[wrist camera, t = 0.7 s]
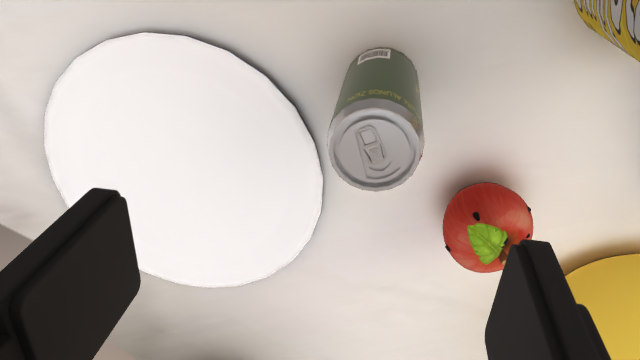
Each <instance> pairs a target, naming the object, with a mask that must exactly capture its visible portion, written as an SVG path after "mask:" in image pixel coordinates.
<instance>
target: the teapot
mask: <svg viewBox="0 0 640 360" xmlns="http://www.w3.org/2000/svg"><path fill="white" fill-rule="evenodd" d="M565 278H566V280H567V283H568V285H569V287H570V289H571V292H572V294H573V296H574V299H575V301H576V303H577V304H582V305H584V306H585V307H586V308H587V309H588V311H589V312H590V315H591V317H592V319H593V321H594V323H595V325H596V327H597V330H598V332H599V334H600V336H601V338H602V340H603V342H604V345H605V347H606V349H607V351H608V353H609V355H610V358H611V360H640V254H629V255H621V256H614V257H609V258H604V259H601V260H598V261H594V262H591V263H589V264H587V265H584V266H582V267H580V268H578V269H576V270H574V271H572V272H571V273H569V274H568V275H566V276H565Z"/></svg>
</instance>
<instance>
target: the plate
mask: <svg viewBox="0 0 640 360" xmlns="http://www.w3.org/2000/svg"><path fill="white" fill-rule="evenodd" d="M44 148H45V152H46V156H47V160H48V163H49V167H50V171H51V175H52V178H53V180H54V182H55V184H56V186H57V188H58V190H59V192H60V193H61V195H62V197H63V199H64V201H65V203H66V205H67V206H68V208H70V207H71V206H73V205H74V204H75V203H76V202H77V201H78V200H79V199H80V198H81V197H82V196H83V195H85V194H86V193H87V192H88V191H89V190H90V189H92V188H103V189H112V190H117V191H118V192H119V193H120V195H121V196H122V197H124V198H125V199H126V201H127V206H128V212H129V217H130V223H131V228H132V234H133V240H134V245H135V251H136V256H137V262H138V268H139V269H140V270H142V271H143V272H145V273H147V274H150V275H153V276H156V277H159V278H162V279H165V280H168V281H171V282H174V283H177V284H183V285H190V286H198V287H205V288H218V287H233V286H241V285H244V284H248V283H251V282H254V281H257V280H260V279H263V278H267V277H269V276H270V275H272V274H273V273H275V272H276V271H278V270H279V269H281V268H283V267H284V266H286V265H287V264H289V263H290V262H292V261H293V259H294V258H295V257H296V256H297V255H298V253H299V252H300V251H301V250H302V249H303V247H304V246H305V245H306V244H307V243H308V241H309V240H310V239H311V236H312V234H313V231H314V228H315V226H316V223H317V221H318V218H319V216H320V213H321V208H322V190H323V174H322V170H321V166H320V162H319V158H318V154H317V150H316V145H315V142H314V140H313V138H312V136H311V134H310V133H309V131H308V129H307V127H306V125H305V124H304V122H303V120H302V118H301V116H300V114H299V113H298V111H297V109H296V107H295V106H294V105H293V104H292V103H291V102H290V101H289V100H288V98H287V97H286V96H285V95H284V94H283V93H282V92H281V91H280V90H279V89H278V88H277V87H276V86H275V85H274V83H273V82H272V81H271V80H270V79H269V78H268V77H267V76H266V75H265V74H263V73H262V72H260V71H259V70H257V69H256V68H254V67H253V66H251V65H250V64H248V63H247V62H245V61H244V60H242V59H241V58H239V57H238V56H236V55H235V54H233V53H232V52H230V51H228V50H226V49H223V48H220V47H217V46H215V45H212V44H209V43H206V42H203V41H201V40H198V39H195V38H192V37H189V36H186V35H174V34H163V33H151V32H142V33H138V34H133V35H128V36H123V37H118V38H114V39H109V40H105V41H104V42H102V43H100V44H99V45H97V46H95V47H94V48H92V49H90V50H89V51H87V52H85V53H84V54H82V55H80V56H78V57H77V58H75V59H74V61H73V62H72V63H71V64H70V66H69V67H68V68H67V69H66V71H65V72H64V73H63V74H62V76H61V77H60V78H59V79H58V80H57V82H56V83H55V85H54V88H53V90H52V93H51V96H50V99H49V102H48V105H47V108H46V111H45V114H44Z"/></svg>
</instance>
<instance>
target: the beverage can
mask: <svg viewBox="0 0 640 360" xmlns="http://www.w3.org/2000/svg"><path fill="white" fill-rule="evenodd" d="M574 2H575V5H576V8H577V11H578V14H579V15H580V16H581V18H582V19H583V20H584V22H585V23H586V24H587V26H588V27H589V28H591V29H592V30H594V31H595V32H597V33H598V34H600V35H601V36H603V37H604V38H606V39H607V40H608V41H610V42H611V43H613V44H614V45H616V46H617V47H619V48H620V49H622V50H623V51H625V52H626V53H627V54H629V55H630V56H632V57H633V58H635V59H636V60H638V61H639V62H640V0H574Z"/></svg>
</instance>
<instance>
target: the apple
mask: <svg viewBox="0 0 640 360" xmlns="http://www.w3.org/2000/svg"><path fill="white" fill-rule="evenodd" d="M530 211H531V209H530V208H529V207H528V206H527V204H526V203H525V202H524V200H523V199H522V198H521V197H520V196H519V195H518V194H517V193H515V192H514V191H512V190H510V189H508V188H505V187H503V186H501V185H498V184H495V183H479V184H474V185H471V186H469V187H466V188H464V189H463V190H461V191H459V192H458V193H457V194H456V195H455V196H454V197H453V198H452V200H451V201H450V203H449V205H448V206H447V209H446V212H445V215H444V220H443V236H444V241H445V244H446V249H447V250H448V251H449V253H450V254H451V256H452V257H453V258H454V259H455V260H456V262H458V263H459V264H460V265H461V266H463V267H464V268H466V269H468V270H471V271H474V272H480V273H489V272H495V271H500V270H503V269H504V266H505V262H506V259H507V256H508V253H509V249H510V247H511V245H512V244H517V245H519V242H520V241H521V240H522V239H527V240H531V239H532V235H533V219H532V215H531V212H530Z"/></svg>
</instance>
